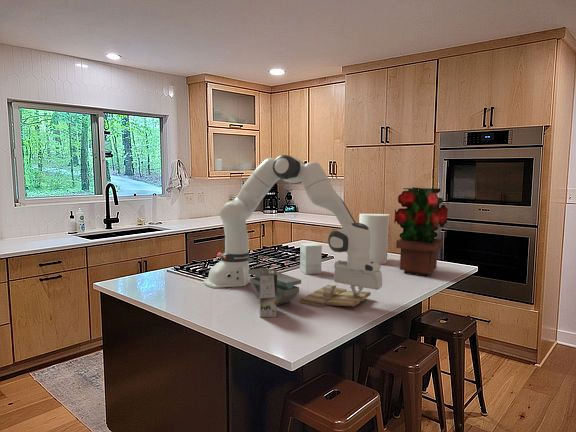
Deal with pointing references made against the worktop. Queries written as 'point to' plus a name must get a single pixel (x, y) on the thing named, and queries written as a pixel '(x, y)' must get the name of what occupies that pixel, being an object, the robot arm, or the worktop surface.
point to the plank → (348, 299)
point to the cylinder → (377, 235)
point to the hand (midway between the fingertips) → (356, 296)
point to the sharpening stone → (284, 286)
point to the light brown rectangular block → (322, 295)
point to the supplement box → (310, 258)
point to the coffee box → (268, 292)
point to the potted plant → (419, 229)
